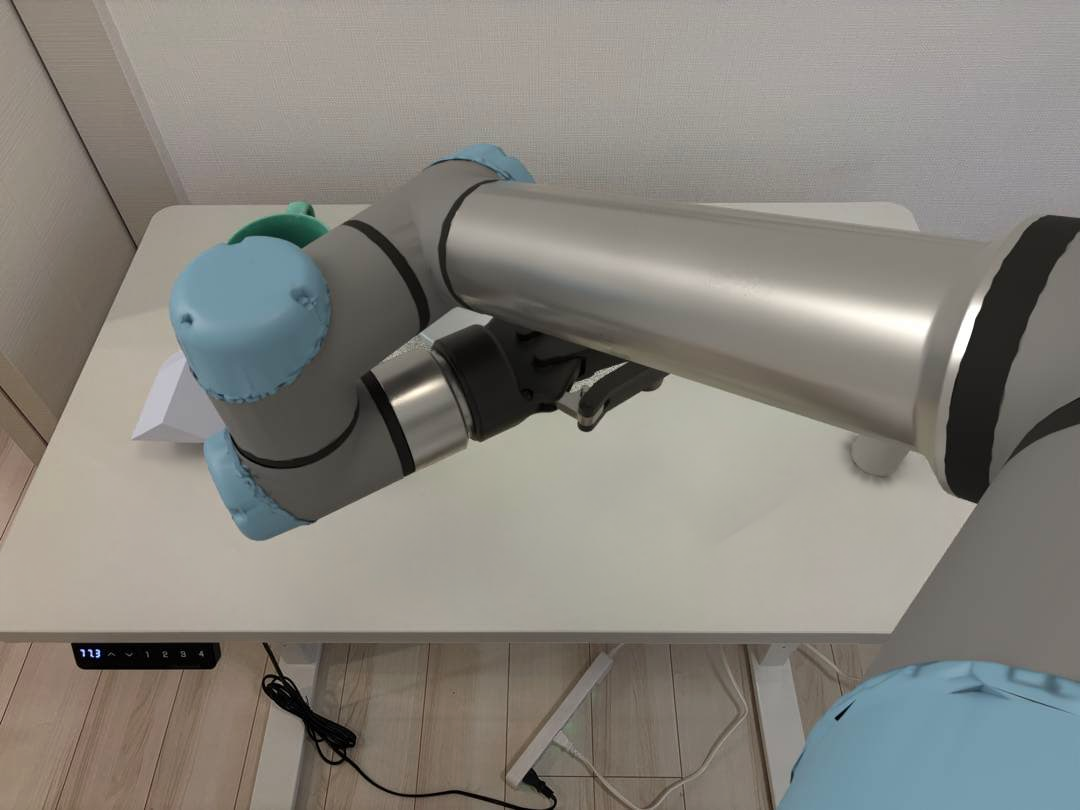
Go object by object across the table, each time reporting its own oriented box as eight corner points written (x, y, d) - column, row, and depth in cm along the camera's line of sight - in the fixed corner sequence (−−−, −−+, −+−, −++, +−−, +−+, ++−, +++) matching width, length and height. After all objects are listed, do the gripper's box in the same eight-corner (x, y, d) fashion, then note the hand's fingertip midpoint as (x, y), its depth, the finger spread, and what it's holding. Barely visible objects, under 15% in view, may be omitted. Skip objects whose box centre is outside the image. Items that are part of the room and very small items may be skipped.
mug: (334, 357, 90) (315, 299, 82) (228, 344, 91) (199, 286, 83) (373, 255, 99) (360, 195, 92) (277, 245, 100) (255, 184, 93)
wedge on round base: (230, 461, 82) (261, 362, 89) (208, 424, 76) (243, 323, 84) (143, 457, 82) (182, 359, 89) (115, 421, 76) (159, 319, 84)
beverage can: (902, 478, 81) (953, 411, 71) (855, 478, 81) (899, 411, 71) (890, 439, 84) (937, 369, 74) (844, 439, 84) (885, 368, 74)
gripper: (408, 351, 60) (663, 245, 67) (507, 512, 52) (785, 373, 59) (394, 281, 54) (675, 172, 61) (504, 452, 46) (813, 305, 53)
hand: (728, 271), depth 60 cm, fingers closed on muddler, 3 cm apart
